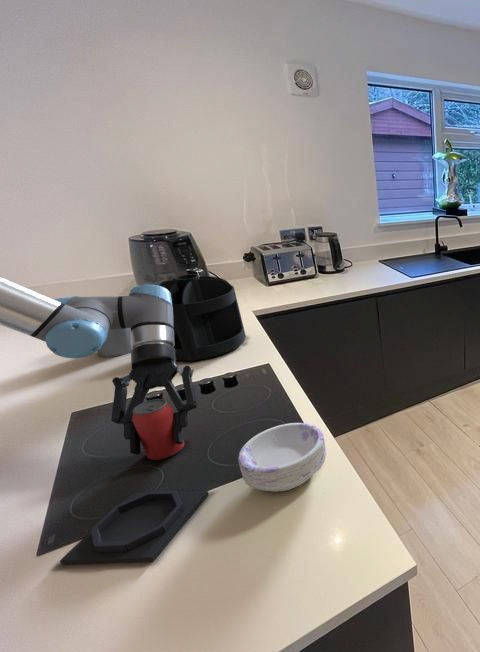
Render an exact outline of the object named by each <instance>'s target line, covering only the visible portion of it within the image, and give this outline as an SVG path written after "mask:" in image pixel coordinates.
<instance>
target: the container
mask: <svg viewBox="0 0 480 652" xmlns="http://www.w3.org/2000/svg"><path fill="white" fill-rule="evenodd" d="M158 286H161V287H164V288H166V289H167V290H168V291H169V292H170V294H171V299H172V306H173V326H174V342H175V345H174V348H175V357H176V361H187V362H188V361H189V362H191V361H192V362H193V361H198V360H199V361H200V360H206V359H210V358H214V357H218V356H220V355H224V354H226V353H228V352H231V351H233V350H236V349H237V348H239V347H240V346H241V345H242V344H244V343H245V341H246V337H247V335H246V331H245V327H244V324H243V319H242V316H241V311H240V307H239V302H238V299H237V295H236V290H235V287H234V285H232V284H231V283H230V282H229V281H227V280H226V279H224V278H221V277H217V276H208V275H203V276H202V275H201V276H199V274H195V273H194V274H193V273H191V274H183V275H182V274H181V275H178V276H175V277H174V278H173V279H170V280H165V281H162V282H160V283H159V284H158Z"/></svg>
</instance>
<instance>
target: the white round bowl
mask: <svg viewBox="0 0 480 652" xmlns="http://www.w3.org/2000/svg"><path fill="white" fill-rule="evenodd" d="M325 441H326V440H325V436H324V433H323V431H322V430H321V429H320V428H319V427H317V426H316V425H314V424H311V423H305V422H290V423H284V424H279V425H276V426H273V427H269V428H268V429H266V430H264V431H261V432H258V433H257V434H256V435H254V436H253V437H252V438H250V439H249V440H248V441H247V442H246V443H245V444H243V446H242V447H241V449H240V451H239V453H238V459H237V460H238V465H239V470H240V473H241V476H242V479H243V481H244V483H245V484H246V485H247V486H248V487H250V488H252V489H254V490H258V491H268V492H275V493H276V492H286V491H290V490H292V489H295V488H297V487H299V486H301V485H302V484H304V483H306V482H307V481H308V480H309V479H310V478H311V477H312V476H314V475H315V474H316V473H317V472H318V471H320V469H321V468H322V467H323V465H324V464H325V461H326V459H327V458H326V457H327V449H326V443H325Z"/></svg>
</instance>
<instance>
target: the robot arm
mask: <svg viewBox="0 0 480 652" xmlns="http://www.w3.org/2000/svg"><path fill="white" fill-rule="evenodd" d="M0 326H3V327H5V328H8V329H10V330H13V331H16V332H19V333H21V334H24V335H27V336H29V337H32V338H35V339H37V340H40V341H42V342H45V344H46V347H47V348H48V349H49V351H51V352H52V353H53V354H54V355H56V356H58V357H60V358H65V359H82V358H86V357H90V356H92V355H94V354H95V353H98V352H97V351H98V350H99V349H100V348H101V346H102V345H103V344H104V343H105V342H106V339H107V335H108V332H109V330H110V329H126V328H131V348H132V349H133V350H132V351H131V352H130V356H131V357H130V363H131V370H130V371H129V373H128V374H127V375H124V376H122V377H118V376H116V377H113V378H112V380H111V381H112V384H113V386H114V393H113V402H112V409H111V410H112V412H111V418H110V419H111V420H110V421H111V422H112V423H114V424H117V425H123V437H124V439H125V440H127V441H128V440H129V453H130V454H133V455H136V456H137V455H140V454H141V450H142V449H141V448H142V447H141V441H140V438H139V436H138V433H137V431H136V428H135V426H134V423H133V419H132V417H133V409H134V408H135V407H136V406H137V405H139V404H141V403H143V402H145V399H146V396H147V395H148V394H149V391H150V390H153V389H155V388H156V389H157V388H164V389H165V391H166V392H167V395H169V398H170V400H171V401H172V403H173V405H174V407H175V410H176V411H175V412H174V413H173V421H174V439H175V443H177V444H183V440H184V432H183V428H187V427H188V425H189V424H188V423H189V422H188V421H189V420H188V413H189V412H190V411H191V410H195V409H197V408H198V403H197V398H196V393H195V388H194V382H193V375H194V369H193V368H192V367H191V366H190V365H185V366H178V365H177V360H176V357H175V348H174V345H175V342H174V326H173V306H172V299H171V294H170V292H169V291H168V290H167V289H166V288H164V287H161V286H159V284H158V285H157V284H142V285H136V286H134V287H132V288H131V289H130V291H129V294H128V295H119V296H118V295H117V296H111V295H110V296H79V295H78V296H77V295H76V296H74V295H73V296H70V297H69V296H68V297H57V298H52V297H50V296H47V295H45V294H43V293H41V292H39V291H36V290H33V289H31V288H30V287H27V286H24V285H22V284H19V283H17V282H15V281H12V280H10V279H8V278H5V277H4V276H0ZM177 374H179V376H181V380H182V386H183V391H184V395H185V401H186V403H184V401H183V399H182V398H181V396H180V394H179V392H178V390H177V388H176V386H175V385H174V383H173V381H172V380H173V379H175V377H176V375H177ZM131 381H133V382H134V383H135V387H134V392H133V394H132V397H131V399H130V401H129V404H128V406H127V399H128V387H129V386H130V382H131ZM126 407H127V409H126Z"/></svg>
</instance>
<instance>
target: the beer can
mask: <svg viewBox="0 0 480 652" xmlns="http://www.w3.org/2000/svg"><path fill="white" fill-rule="evenodd" d="M173 413H175V412H174V409H173V407H172V406H171V405H170V403H168V401H167V400H166V399H165V398H164V399H163V398H154V399H149V400H146V401H143V403H141V404H139V405H137V406H136V407H135V408H134V409H133V417H132V419H133V423H134V426H135V428H136V431H137V433H138V436H139V438H140V444H141V446H142V449H143V452H144V454H145V456H146V457H147V459H149V460H153V461H160V460H164V459H168V458H170V457H173V456H175V455H176V454H178V453H179V452H181V451H182V449H183V448H184V447H185V439H183V444H177V443H175V439H174V421H173Z"/></svg>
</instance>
